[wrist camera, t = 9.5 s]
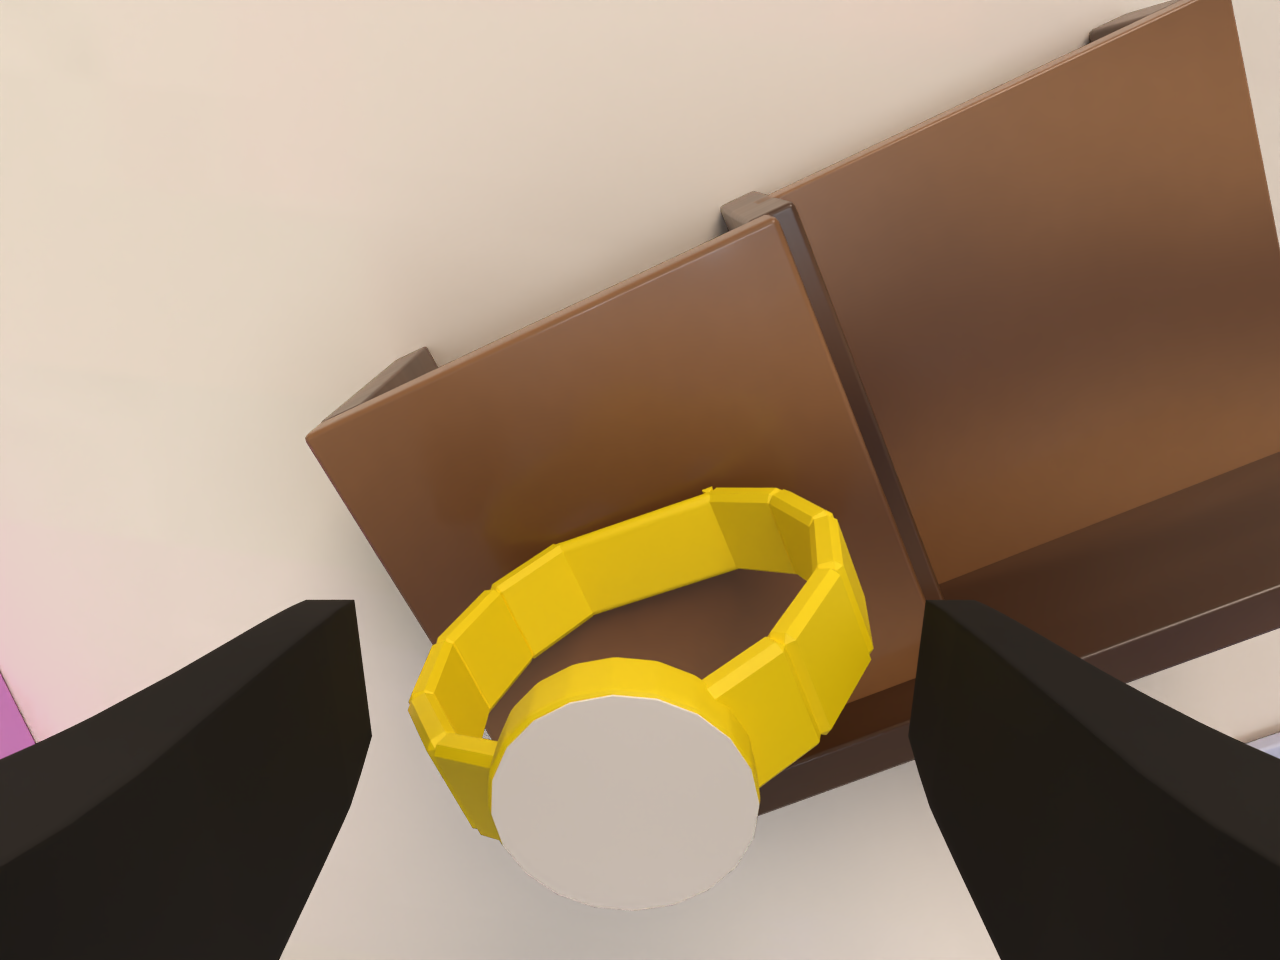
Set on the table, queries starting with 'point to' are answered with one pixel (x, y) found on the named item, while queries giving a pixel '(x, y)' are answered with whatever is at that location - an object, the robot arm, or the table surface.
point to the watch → (643, 700)
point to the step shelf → (901, 393)
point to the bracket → (11, 725)
